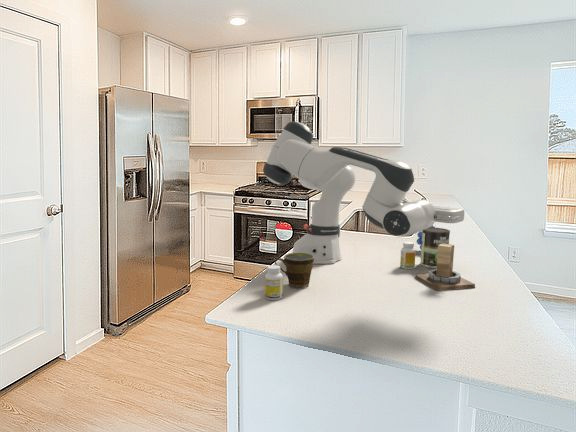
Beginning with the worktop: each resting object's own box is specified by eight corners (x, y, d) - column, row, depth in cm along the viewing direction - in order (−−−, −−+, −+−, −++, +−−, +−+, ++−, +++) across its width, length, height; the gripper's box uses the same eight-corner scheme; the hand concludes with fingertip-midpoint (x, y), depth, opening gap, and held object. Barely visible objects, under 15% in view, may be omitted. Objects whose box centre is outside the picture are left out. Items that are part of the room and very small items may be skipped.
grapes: (445, 252, 193) (447, 225, 191) (437, 255, 188) (439, 227, 186) (421, 248, 201) (422, 222, 199) (413, 250, 196) (414, 224, 195)
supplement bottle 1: (273, 293, 139) (273, 263, 137) (286, 297, 136) (286, 266, 134) (261, 298, 135) (261, 267, 133) (274, 302, 132) (274, 270, 130)
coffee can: (453, 267, 170) (455, 231, 167) (429, 269, 167) (432, 232, 165) (437, 260, 179) (439, 226, 177) (415, 262, 177) (417, 227, 174)
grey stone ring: (439, 284, 145) (439, 278, 144) (422, 275, 154) (423, 270, 154) (466, 282, 147) (466, 276, 147) (448, 274, 157) (449, 268, 156)
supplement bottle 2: (417, 267, 169) (418, 242, 168) (409, 270, 166) (411, 245, 164) (404, 264, 173) (406, 240, 172) (397, 267, 170) (398, 242, 168)
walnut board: (437, 290, 143) (437, 287, 142) (415, 277, 156) (415, 274, 156) (474, 287, 146) (475, 284, 146) (450, 275, 159) (450, 272, 159)
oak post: (447, 281, 148) (450, 247, 146) (436, 279, 150) (438, 245, 149) (451, 279, 151) (454, 244, 149) (440, 276, 153) (442, 243, 152)
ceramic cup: (312, 280, 152) (312, 252, 150) (315, 290, 142) (315, 260, 141) (274, 281, 152) (274, 252, 150) (274, 290, 142) (274, 260, 140)
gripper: (456, 208, 121) (472, 202, 131) (388, 201, 134) (407, 196, 144) (454, 230, 122) (470, 223, 133) (387, 221, 135) (406, 215, 145)
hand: (437, 209), depth 139 cm, fingers open, 8 cm apart
